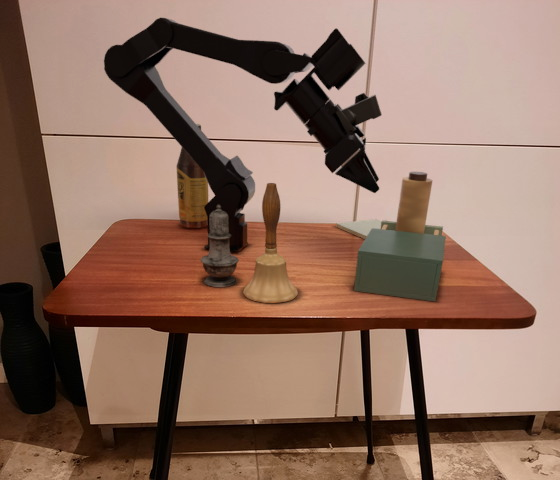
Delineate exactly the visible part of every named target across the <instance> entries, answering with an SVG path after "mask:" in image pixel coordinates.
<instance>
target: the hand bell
mask: <svg viewBox="0 0 560 480" xmlns="http://www.w3.org/2000/svg"><path fill="white" fill-rule="evenodd" d="M261 203H262V204H261V209H262V210H261V213H262V219H263V220H262V221H263V223H264V226H265V241H264V243H265V245H264V248H265V249H264V253H263V254H261V255H259V256H257V258H256V259H255V265H254V272H253V275H252V277H251V280H250V281H249V282H248V284H247V285H245V286H244V289H243V290H242V293H243V296H244V297H246V298H247V299H249V300H251V301H254V302H258V303H265V304H279V303H285V302H290V301H292V300H294V299H295V298H296V297H298V295H299V291H298V289H297V287H296V286H295V285H294V284H293V283H292V281H291V280H290V277H289V273H288V267H287V260H286V258H285V257H284V256H283V255H281V254H278V244H277V241H278V239H277V229H278V224H279V221H280V217H281V198H280V194H279V191H278V187H277V183H275V182H268V183H266V187H265V190H264V194H263V197H262V202H261Z"/></svg>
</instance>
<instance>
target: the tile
mask: <svg viewBox="0 0 560 480" xmlns="http://www.w3.org/2000/svg"><path fill="white" fill-rule="evenodd" d="M381 222H382V220H381V219H377V218H373V219H365V220H354V221H346V222H337V223H336V224H335V227H336V228H338V229H340V230H342V231H345V232H347V233H349V234H351V235H354V236H356V237H358V238H361V239H363V240H365V239H366V237H367V236H368V234H369V232H370V231H371V229H372V228H375V229H381Z"/></svg>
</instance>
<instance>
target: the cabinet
mask: <svg viewBox="0 0 560 480" xmlns="http://www.w3.org/2000/svg"><path fill="white" fill-rule="evenodd" d="M446 238H447V236H446V235H442V236H441V235H431V234H422V233H412V232H403V231H393V230H384V229H375V228H372V229H371V231H370V232H369V234H368V236H367V237H366V239H364V240H363V242H362V243H361V245H360V247H359V249H358V251H357V260H356V268H355V276H354V287H353V291H354V292H361V293H366V294H367V293H368V294H374V295H382V296H390V297H397V298H404V299H412V300H420V301H426V302H427V301H428V302H433V303H434V302H435V303H436V301H437V296H438V290H439V284H440V279H441V273H442V269H443V264H444V256H445V247H446Z"/></svg>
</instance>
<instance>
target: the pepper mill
mask: <svg viewBox="0 0 560 480" xmlns="http://www.w3.org/2000/svg"><path fill="white" fill-rule="evenodd" d="M432 186H433V180H432V179H431V178H428V173H427V172H424V171H409V172H408V176H404V177H402V180H401V186H400V193H399V201H398V209H397V213H396V214H397V215H396V221H395V222H396V229H395V231H403V232H412V233H422V234H424V230H425V225H427V224H426V223H427V216H428V211H429V204H430V199H431V192H432Z"/></svg>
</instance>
